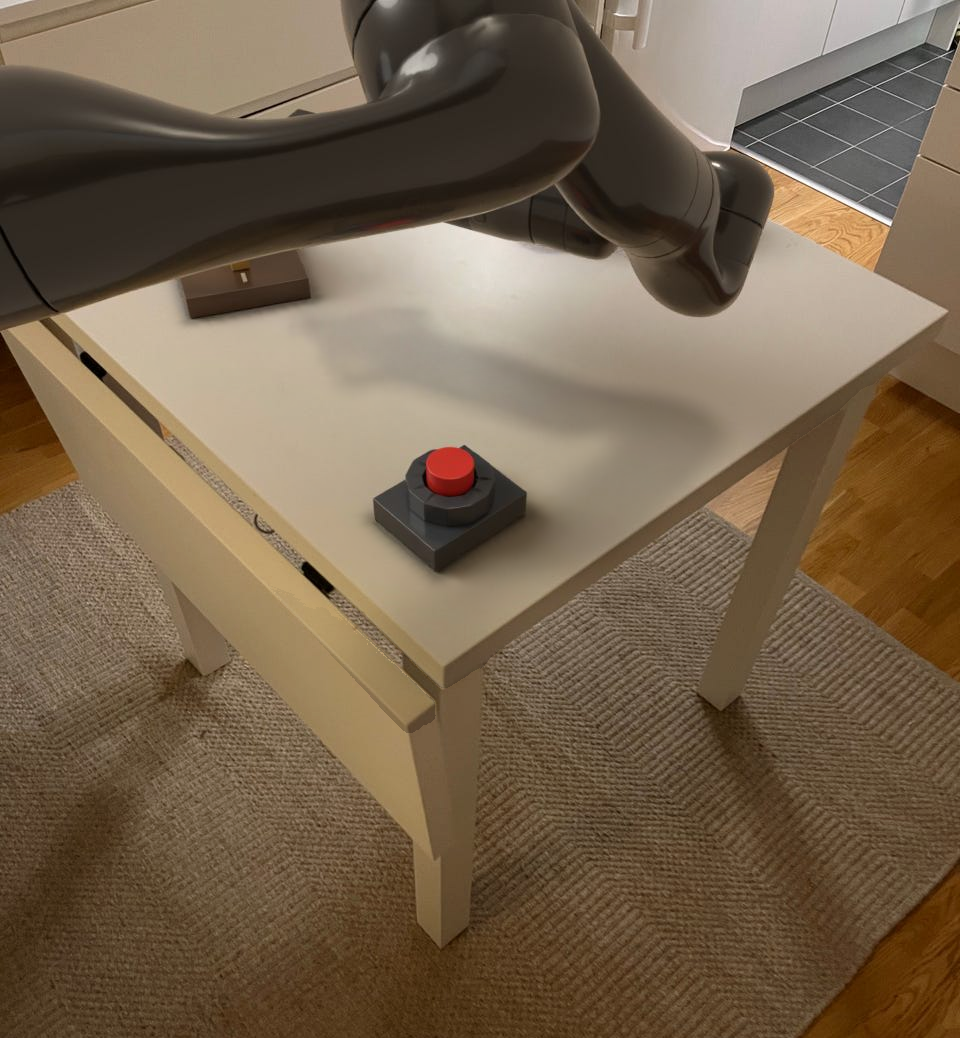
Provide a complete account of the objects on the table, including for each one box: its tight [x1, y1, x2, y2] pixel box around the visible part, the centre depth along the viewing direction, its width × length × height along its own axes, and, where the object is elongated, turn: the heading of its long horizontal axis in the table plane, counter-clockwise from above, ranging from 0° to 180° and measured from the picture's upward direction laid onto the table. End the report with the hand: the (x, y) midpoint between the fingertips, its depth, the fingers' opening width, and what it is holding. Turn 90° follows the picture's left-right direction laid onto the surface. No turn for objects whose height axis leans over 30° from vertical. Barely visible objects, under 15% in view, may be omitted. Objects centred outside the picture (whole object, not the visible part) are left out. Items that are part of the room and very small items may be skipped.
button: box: [426, 446, 474, 497], centre depth 71 cm, size 3×3×2 cm
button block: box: [372, 444, 528, 572], centre depth 73 cm, size 9×7×4 cm
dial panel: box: [178, 249, 311, 319], centre depth 93 cm, size 14×12×2 cm
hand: (291, 126), depth 77 cm, fingers closed
